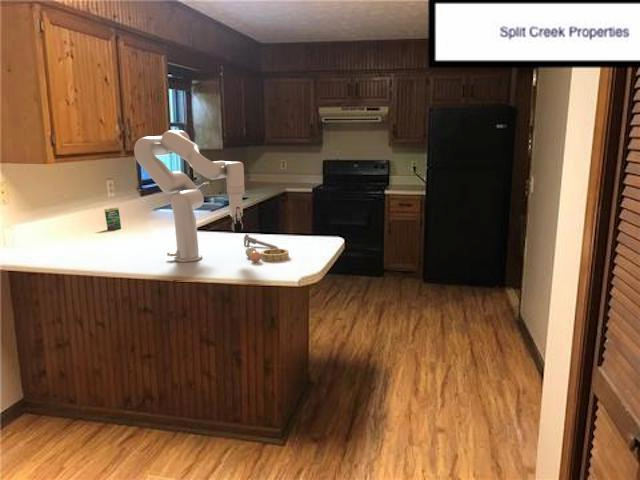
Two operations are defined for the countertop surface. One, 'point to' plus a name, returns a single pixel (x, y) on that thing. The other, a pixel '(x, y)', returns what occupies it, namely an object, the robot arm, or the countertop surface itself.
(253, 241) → the caliper
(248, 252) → the cream ball
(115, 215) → the coffee box
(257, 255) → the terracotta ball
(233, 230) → the steel ball
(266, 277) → the countertop surface
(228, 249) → the countertop surface
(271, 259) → the ring
